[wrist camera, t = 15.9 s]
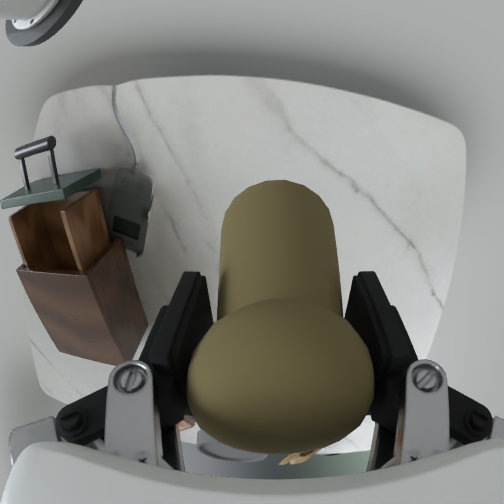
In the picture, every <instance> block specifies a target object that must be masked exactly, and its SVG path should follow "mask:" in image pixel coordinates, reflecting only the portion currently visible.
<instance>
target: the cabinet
mask: <svg viewBox="0 0 504 504" xmlns="http://www.w3.org/2000/svg"><path fill="white" fill-rule="evenodd" d="M109 238H110V241H111V244H110V245H109V246H108V247H107V248H106V249H105V250H104V252H103V253H102V254H101V255H100V256H99V257H98V258H97V259H96V260H95V261H94V263H93V264H92V265H91V266H90V267H89V268H88V269H87V270H86V272H77V271H63V270H49V269H37V268H26V267H25V264H24V263H23V264H22V265H21V266H20V267H19V268H18V269H17V270H16V271H17V273H18V275H19V277H20V280H21V282H22V284H23V286H24V289H25V291H26V293H27V295H28V297H29V299H30V301H31V303H32V305H33V307H34V309H35V311H36V313H37V314H38V316H39V318H40V320H41V322H42V323H43V325H44V327H45V329H46V330H47V332H48V334H49V336H50V337H51V339H52V340H53V342H54V344H55V345H56V347H57V349H58V350H59V351H60V352H63V353H66V354H70V355H73V356H77V357H81V358H85V359H89V360H93V361H97V362H101V363H105V364H110V365H114V366H117V365H118V364H120V363H122V362H124V361H129V360H132V359H133V357H134V355H135V353H136V350H137V348H138V346H139V344H140V342H141V340H142V337H143V335H144V333H145V331H146V329H147V327H148V322H147V320H146V317H145V314H144V311H143V308H142V305H141V302H140V299H139V296H138V292H137V289H136V286H135V283H134V279H133V276H132V273H131V269H130V266H129V262H128V258H127V255H126V251H125V247H124V243H123V239H122V237H109Z"/></svg>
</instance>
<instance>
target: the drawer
mask: <svg viewBox="0 0 504 504" xmlns="http://www.w3.org/2000/svg"><path fill="white" fill-rule="evenodd" d="M55 146H56V139H55V137H54V136H49V137H46V138H43V139H40V140H37V141H35V142H32V143H29V144H26V145H24V146H21V147H19V148H17V149H16V150H15V158H16V159H18V160H19V163H20V168H21V172H22V178H23V182H24V187H23V188H21V189H19V190H17V191H16V192H14V193H12V194H10V195H9V196H7V197H5V198H4V199H2V200H0V204H1V207H2V209H5V208H11V207H16V206H22V205H26V206H24V207H23V208H21V209H20V210H18V211H17V212H15V213H14V214H12V215H11V216H9V217H8V218H9V222H10V225H11V228H12V231H13V234H14V237H15V240H16V243H17V246H18V248H19V251H20V254H21V256H22V259H23V262H24V264H25V267H26V268H37V269H49V270H63V271H77V272H86V270H87V269H88V268H89V267H90V266H91V265H92V264H93V263H94V261H95V260H96V259H97V258H98V257H99V256H100V255H101V254H102V253H103V252H104V250H105V249H106V248H107V247H108V246H109V245H110V244H111V241H110V238H109V234H108V230H107V226H106V222H105V218H104V213H103V209H102V205H101V200H100V195H99V190H98V189H89V190H82V191H79V190H81V189H83V188H84V187H86V186H88V185H89V184H91V183H93V182H94V181H96V180H98V179H99V178H101V177H102V176H101V170H100V169H94V170H87V171H82V172H76V173H70V174H65V175H60V176H58V173H57V168H56V162H55V157H54V150H53V149H54V148H55ZM44 151H47V152H48V158H49V164H50V169H51V175H52V177H50V178H46V179H41V180H37V181H34V182H32V183H30V184H29V180H28V175H27V170H26V165H25V160H24V158H26V157H29V156H32V155H35V154H38V153H41V152H44Z"/></svg>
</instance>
